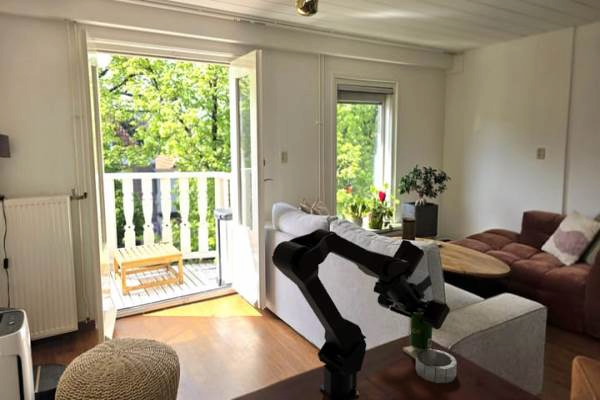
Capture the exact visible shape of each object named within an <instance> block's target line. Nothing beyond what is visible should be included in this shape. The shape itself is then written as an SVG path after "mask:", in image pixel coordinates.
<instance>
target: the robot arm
mask: <svg viewBox="0 0 600 400" xmlns="http://www.w3.org/2000/svg"><path fill="white" fill-rule="evenodd" d="M330 253H331V254H334V255H336V256H338V257H340V258H341V259H342V258H343V260H344V259H345V260H347V261H349V262H351V263H353V264H354V265H356V266H357V268H358V269H359V270H360V271H361V272H362V273H363V274H365V275H366V276H370V277H372V278H375V279H377V281H375V284H374V287H373V292H374V293H376V294H378V297H377V304H378V305H380V307H382V308H385V309H387V310H389V311H391V312H394V313H395V314H399V315H401V316H403V317H407V318H410V319H411V315H412V313H413V312H414V313H417V312H418V310H420V311H422V312H421V313H422V314H423V315H422V318H421V320H420V321H419V322H420V323H422V324H424V325H427V326H430V327H432V329H435V330H440V329H441V328H442V325H443V324H444V322H445V320H446V319H447V317H448V315H449V313H450V311H451V308H450V306H449V305H448V304H447V302H443V301H440V300H438V299H435V298H433V299H431V300H428V301H427V302H424V301H421V299H423V300H424V297H425V293H424V292H425V291H426V290H427V289H428V288H429V287H431V286H432V285H433V284H432V283H433V282H432V279H431V275H430V273H429V271H428V272H427V271H425V270H421V269H417V268H418V266H419V265H420V264H421V263H420V262H421V261H422V259H423V257H424V255H425V252H424V250H423V249H421V248H420V247H419V246H417V245H416V244H413V243H412V241H411V240H406V239H402V241H401V243H400V245H399V247H398V248H397V250H396V251H395V253H394V255H393V256H392V255H388V254H385V253H380V252H377V251H373V250H369V249H366V248H364V247H362V246H360V245H358V244H357V243H354V242H353V241H350V240H349V239H347V238H345V237H343V236H341V235H339V234H337V232H336V231H332V230H328V229H324V228H318V229H315V230H313V231H312V232H310V233H307V234H303V235H300V236H295V237H293V238H291V239H289V240H285V241H284V240H283V241H281V242H280V243H278V244H277V245H276V246H275V248H274V250H273V253H272V256H271V260H272V264H273V265H274V266H275V268H277V270H279V271H280V273H282V275H283V276H285V277H286V278H288V279H289V280H290V282H292V283H294V284H295V285H296V286H297V288H298V290H299V291H300V293H301V295H302V296H303V298H304V299H305V301H306V302H307V303H308V305H309V307H310V308H311V310H312V312H313V313H314V315H315V316H316V318H317V319H318V321H319V323H320V324H321V325H322V328H324V340H325V342H324V343H323V345H322V346H321V348H320V349H319V351H318V353H317V357H318V359H319V362H321V363H323V365H324V366H323V384H321V385H320V390H322V392H323V393H324V394H325V395H326V397H328V398H329V399H330V400H349V399H352V398H356V397H359V396H360V393H359V391H358V390H357V386H358V373H359V372H360V371H361V370H362V368H363V367H362V366H363V363H364V359H365V355H366V353H367V352H366V351H367V342H366V340H365V339H367V336H365V334H364V333H363V332H362V328H361V327H360V326H359V324H357V323H355V322H353V321H350V320H348V319H347V318H345V317H343V316H342V314H341V312H340V311H339V308H337V306H336V304H335V303H334V300H333V299H332V297H331V295H330V294H329V292H328V291H327V289H326V287H325V286H324V284H323V282H322V281H321V279H320V277H319V269H320V265H321V264H323V263H324V262H325V261H326V259H327V257H328V255H329V254H330ZM426 306H427V307H426Z"/></svg>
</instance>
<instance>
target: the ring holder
mask: <svg viewBox="0 0 600 400" xmlns="http://www.w3.org/2000/svg"><path fill="white" fill-rule="evenodd" d="M457 362H458V361H457V359H456V358H455V357H454V355H452V354H451V353H448V352H446V351H443V350H439V349H432V348H431V349H426V350H422V351H420V352H418V353H417V355H416V359H415V371H416V374H417V375H418V376H419V377H421V378H422V379H423V380H426V381H429V382H432V383H436V384H447V383H450V382H453V381H455V379H456V377H457V367H458V366H457V365H458V364H457Z"/></svg>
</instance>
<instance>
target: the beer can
mask: <svg viewBox="0 0 600 400" xmlns="http://www.w3.org/2000/svg"><path fill="white" fill-rule="evenodd" d="M421 301H424V302H427V301H429V300H427V299H424V298H423V299H421ZM426 307H427V306H426ZM421 312H422V311H420V310H418V312H417V313H414V312H413V313H412V315H411V318H410V336H409V337H410V338H409V339H410V340H409V345H410V346H411V347H412V348H413V349H415V350H418V351H422V350H426V349H430V348H431V349H432V345H433V344H432V342H433V341H432V340H433V328H432V327H430V326H427V325H424V324H422V323H420V322H419V321H420V320H421V318H422V315H423V314H422V313H421Z"/></svg>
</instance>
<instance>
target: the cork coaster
mask: <svg viewBox="0 0 600 400" xmlns="http://www.w3.org/2000/svg"><path fill="white" fill-rule="evenodd" d="M430 349H432V347H431V348H430ZM402 352H404V353H406V354H407V355H408V356H409V357H411V358H412V359H414V360H416V355H417V353H418V352H420V351H418V350H415V349H413V348H412V347H411V345H410V346H409V345H408V346H405V347H402Z"/></svg>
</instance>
